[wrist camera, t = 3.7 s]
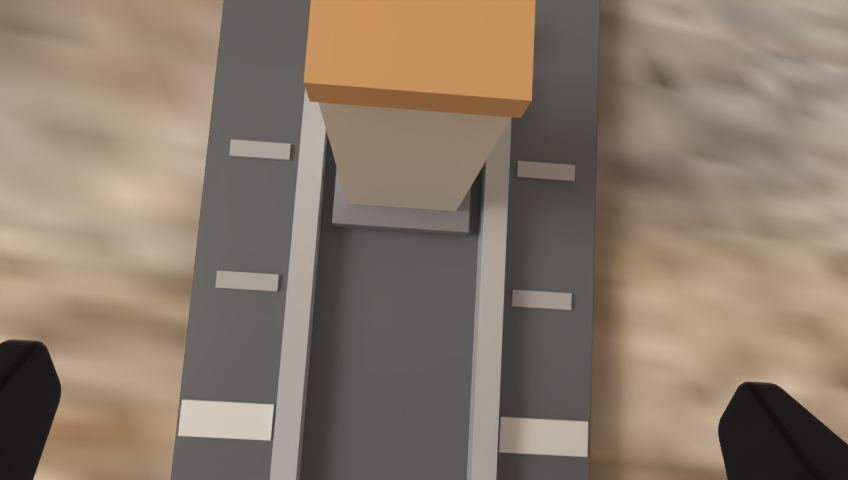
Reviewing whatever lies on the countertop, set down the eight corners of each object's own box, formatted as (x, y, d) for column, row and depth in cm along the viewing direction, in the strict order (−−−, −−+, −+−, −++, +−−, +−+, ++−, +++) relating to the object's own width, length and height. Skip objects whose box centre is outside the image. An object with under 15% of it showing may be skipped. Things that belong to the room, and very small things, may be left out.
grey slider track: (569, 748, 19) (604, 823, 16) (154, 736, 19) (111, 812, 16) (589, -13, 23) (620, -65, 20) (239, -44, 22) (216, -103, 19)
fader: (465, 235, 20) (550, 134, 10) (333, 226, 20) (280, 113, 10) (473, 97, 21) (558, -134, 10) (344, 87, 20) (305, -159, 10)
